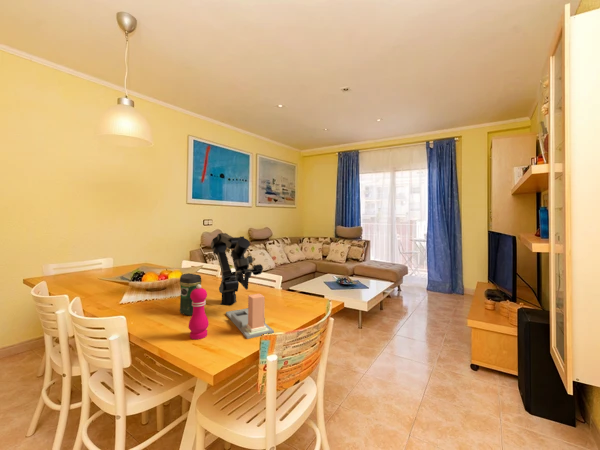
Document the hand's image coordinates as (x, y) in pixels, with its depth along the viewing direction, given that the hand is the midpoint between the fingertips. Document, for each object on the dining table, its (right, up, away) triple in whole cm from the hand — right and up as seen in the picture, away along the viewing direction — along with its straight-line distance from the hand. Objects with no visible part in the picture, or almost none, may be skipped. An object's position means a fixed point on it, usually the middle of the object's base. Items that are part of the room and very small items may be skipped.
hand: (247, 289), depth 123 cm
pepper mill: (-15, -14, -19) cm, 28 cm away
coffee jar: (-28, -13, +6) cm, 31 cm away
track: (+1, -13, -5) cm, 14 cm away
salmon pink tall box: (+6, -12, -14) cm, 20 cm away
